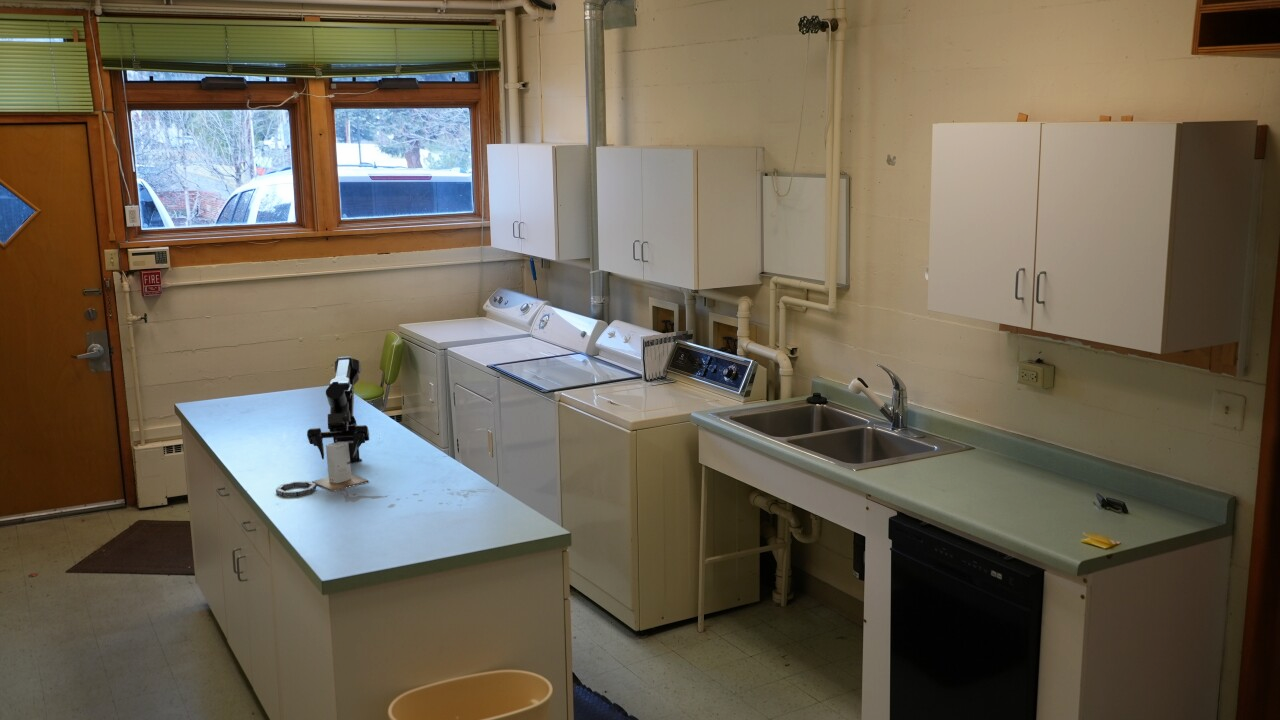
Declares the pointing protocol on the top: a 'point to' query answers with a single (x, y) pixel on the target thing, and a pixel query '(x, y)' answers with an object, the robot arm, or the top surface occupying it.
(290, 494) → the grey octagonal ring
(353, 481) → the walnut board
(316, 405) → the top surface
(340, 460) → the skincare box
